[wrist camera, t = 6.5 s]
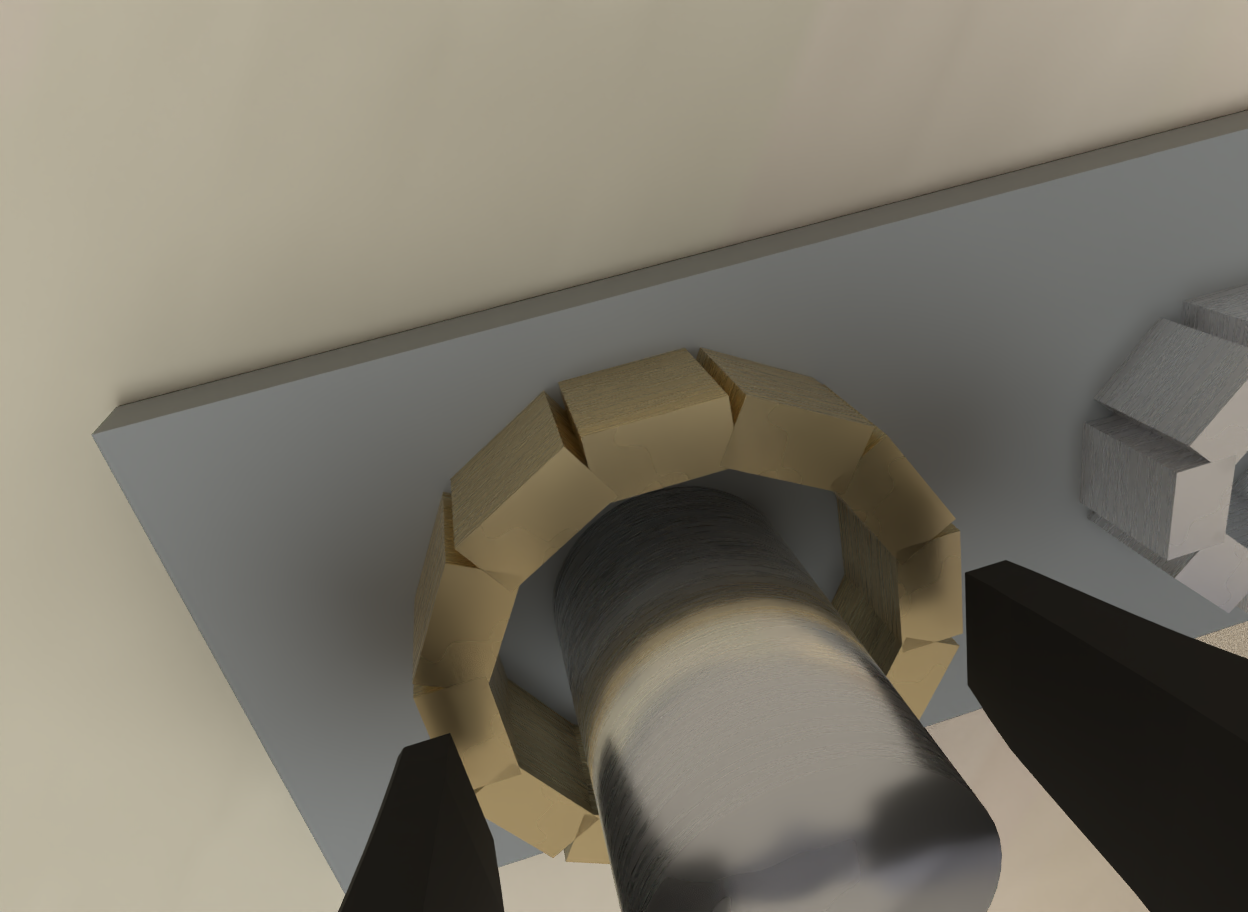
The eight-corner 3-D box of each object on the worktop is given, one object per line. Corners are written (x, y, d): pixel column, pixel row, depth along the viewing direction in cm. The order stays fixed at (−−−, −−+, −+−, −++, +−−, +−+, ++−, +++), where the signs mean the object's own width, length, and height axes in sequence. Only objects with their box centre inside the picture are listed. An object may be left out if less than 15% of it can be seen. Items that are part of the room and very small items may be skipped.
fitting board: (1461, 54, 14) (1531, 53, 13) (1349, 547, 19) (1395, 572, 18) (116, 406, 12) (91, 434, 11) (360, 868, 16) (356, 914, 16)
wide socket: (880, 294, 13) (954, 332, 11) (907, 694, 16) (966, 772, 14) (346, 440, 12) (332, 506, 10) (500, 826, 15) (510, 926, 14)
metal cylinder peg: (769, 454, 13) (996, 716, 8) (800, 648, 15) (1004, 966, 10) (523, 530, 13) (590, 857, 8) (586, 719, 15) (677, 1091, 9)
